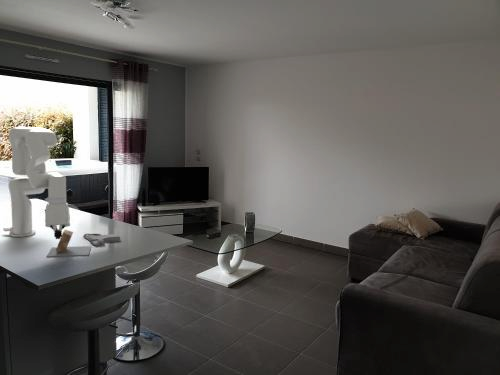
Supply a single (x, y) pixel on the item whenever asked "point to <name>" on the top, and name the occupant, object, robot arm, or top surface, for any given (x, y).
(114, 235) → the pistol
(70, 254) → the rubber mat
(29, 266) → the top surface
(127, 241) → the top surface
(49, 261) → the top surface
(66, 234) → the wooden block
